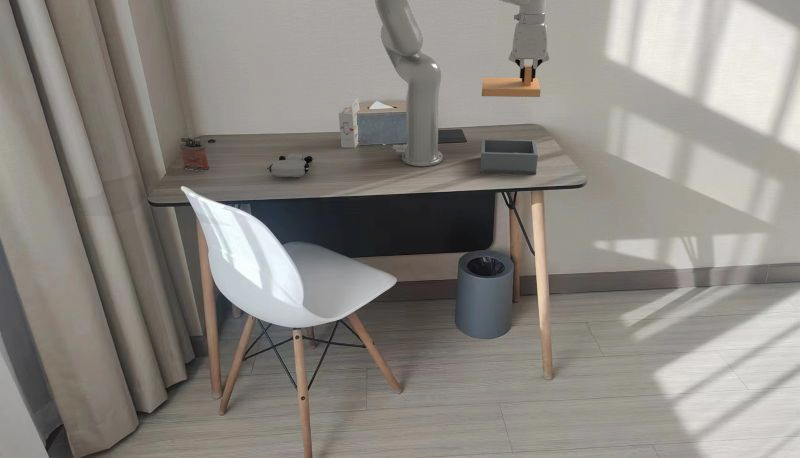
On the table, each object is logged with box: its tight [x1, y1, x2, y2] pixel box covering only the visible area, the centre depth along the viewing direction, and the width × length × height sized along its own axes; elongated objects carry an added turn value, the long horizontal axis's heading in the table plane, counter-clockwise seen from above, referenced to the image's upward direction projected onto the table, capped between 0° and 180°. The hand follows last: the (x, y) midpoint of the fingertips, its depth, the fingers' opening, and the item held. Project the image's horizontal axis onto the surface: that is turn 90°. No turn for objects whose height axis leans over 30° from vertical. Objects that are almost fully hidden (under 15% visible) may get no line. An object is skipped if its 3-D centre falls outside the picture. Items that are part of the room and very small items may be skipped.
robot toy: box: [265, 153, 316, 178], centre depth 180 cm, size 12×4×15 cm
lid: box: [481, 64, 541, 98], centre depth 188 cm, size 17×13×7 cm
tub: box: [480, 138, 539, 175], centre depth 180 cm, size 16×12×6 cm
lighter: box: [179, 136, 210, 171], centre depth 183 cm, size 8×3×10 cm, turn 74°
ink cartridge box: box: [338, 97, 361, 149], centre depth 198 cm, size 9×5×15 cm, turn 168°
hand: (527, 80), depth 188 cm, fingers closed on lid
